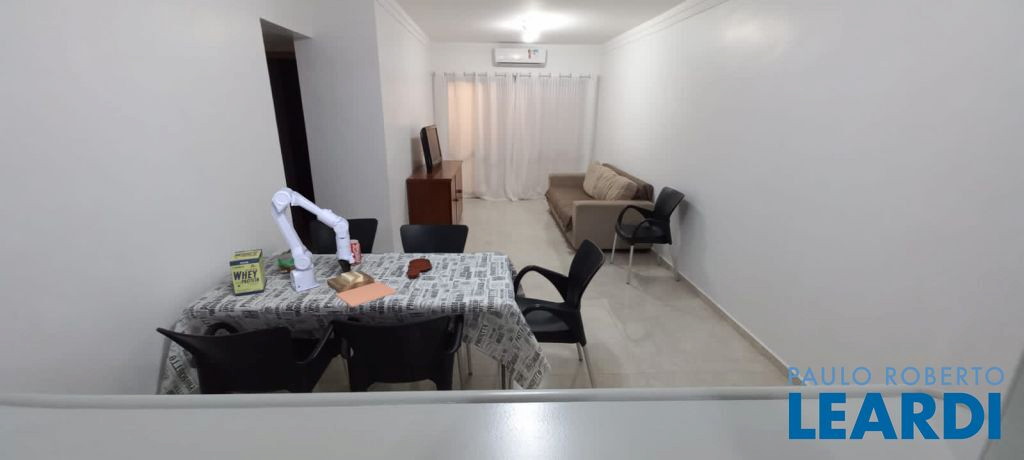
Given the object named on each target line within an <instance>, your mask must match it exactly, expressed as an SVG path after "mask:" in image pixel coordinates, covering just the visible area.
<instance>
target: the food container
mask: <svg viewBox="0 0 1024 460" xmlns="http://www.w3.org/2000/svg"><path fill="white" fill-rule="evenodd" d="M276 260H277V263H278V268H279V271H280V274H281V275H284V274H290V271H292V270H294V269H296V268H295V265H294V258H293V256H292V251H291V249H290V248H289V249H287V250H286V251H283V252H282V253H280V254H276Z"/></svg>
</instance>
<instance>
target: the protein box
mask: <svg viewBox="0 0 1024 460" xmlns="http://www.w3.org/2000/svg"><path fill="white" fill-rule="evenodd" d="M228 263H229V266H230V274H231V279H232V284H233V289H234V294H235V297H243V296H249V295H257V294H262V293H265V289H266V287H267V286H266V285H267V281H268V279H267V273H266V267H265V261H264V254H263V249H262V248H259V249H250V250H241V251H235V252H234V253H233V255H232V257H231V259H230V260H229V262H228Z"/></svg>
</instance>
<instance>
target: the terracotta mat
mask: <svg viewBox="0 0 1024 460" xmlns="http://www.w3.org/2000/svg"><path fill="white" fill-rule="evenodd" d="M374 282H375V281H374ZM396 293H398V291H397V290H395V289H394V288H392V287H390V286H388V285H387V284H385V283H383V282H381V281H376V282H375V283H372V284H368V285H365V286H362V287H358V288H355V289H351V290H348V291H344V292H341V293H338V292H337V293H335V296H336V297H337V298H339V299H340V300H342V301H343V302H344V303H346V304H347V305H348V306H351V307H357V306H359V305H363V304H366V303H369V302H372V301H375V300H379V299H381V298H385V297H387V296H391V295H393V294H396Z"/></svg>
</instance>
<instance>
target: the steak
mask: <svg viewBox="0 0 1024 460" xmlns="http://www.w3.org/2000/svg"><path fill="white" fill-rule="evenodd" d="M408 264H409V265H407V269H408V270H407V271H406V272H405V274H406V275H407V277H409V279H410V280H416V279H417V278H418V276H419V275H420V274H421V273H422V271H423V272H425V271H426V270H428V269H431V268H432V266H433V264H432V263H431V260H430V259H428V258H424V257H423V258H420V257H419V258H414V259H411V260H409V262H408Z"/></svg>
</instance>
